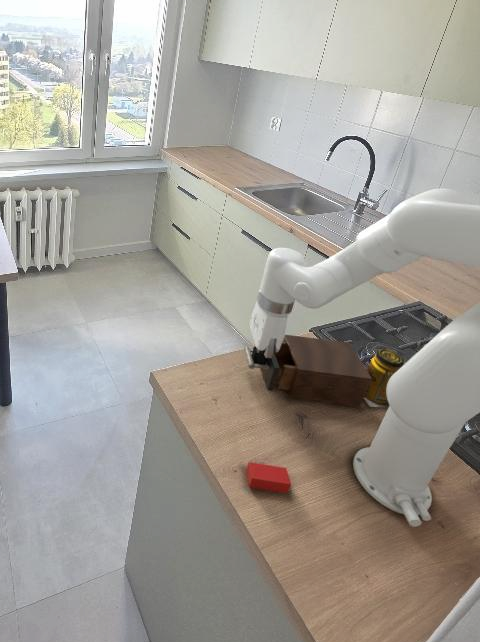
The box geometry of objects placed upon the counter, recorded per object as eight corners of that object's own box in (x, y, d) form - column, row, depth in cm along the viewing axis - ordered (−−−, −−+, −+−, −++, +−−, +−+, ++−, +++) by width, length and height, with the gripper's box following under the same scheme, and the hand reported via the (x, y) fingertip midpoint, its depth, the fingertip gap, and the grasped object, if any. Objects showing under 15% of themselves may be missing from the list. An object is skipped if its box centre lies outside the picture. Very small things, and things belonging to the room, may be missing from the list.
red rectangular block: (283, 476, 80) (286, 467, 79) (287, 493, 77) (291, 484, 76) (245, 470, 81) (248, 461, 80) (249, 487, 78) (251, 478, 77)
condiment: (351, 382, 103) (367, 344, 98) (385, 383, 103) (402, 346, 98) (369, 407, 96) (386, 368, 91) (405, 408, 96) (424, 369, 91)
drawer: (247, 387, 98) (253, 364, 95) (239, 356, 108) (244, 333, 105) (331, 399, 96) (341, 375, 93) (316, 366, 106) (324, 343, 103)
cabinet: (289, 398, 97) (299, 369, 93) (276, 362, 108) (284, 334, 104) (359, 408, 96) (372, 378, 92) (339, 370, 106) (349, 342, 102)
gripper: (251, 280, 101) (237, 338, 109) (265, 319, 88) (248, 383, 95) (283, 283, 100) (266, 342, 108) (302, 324, 87) (282, 388, 94)
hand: (258, 361), depth 101 cm, fingers closed
